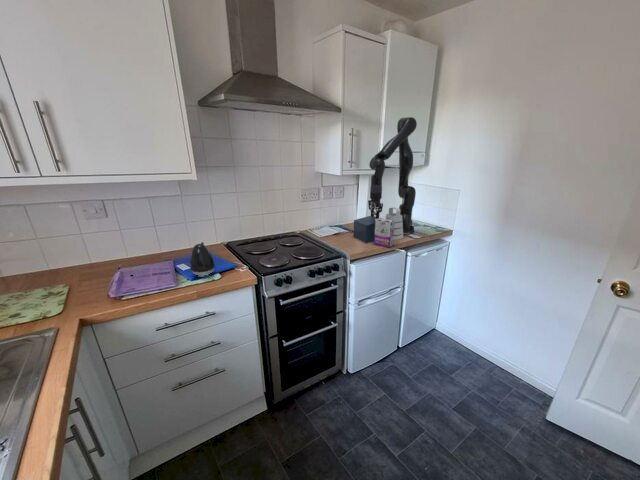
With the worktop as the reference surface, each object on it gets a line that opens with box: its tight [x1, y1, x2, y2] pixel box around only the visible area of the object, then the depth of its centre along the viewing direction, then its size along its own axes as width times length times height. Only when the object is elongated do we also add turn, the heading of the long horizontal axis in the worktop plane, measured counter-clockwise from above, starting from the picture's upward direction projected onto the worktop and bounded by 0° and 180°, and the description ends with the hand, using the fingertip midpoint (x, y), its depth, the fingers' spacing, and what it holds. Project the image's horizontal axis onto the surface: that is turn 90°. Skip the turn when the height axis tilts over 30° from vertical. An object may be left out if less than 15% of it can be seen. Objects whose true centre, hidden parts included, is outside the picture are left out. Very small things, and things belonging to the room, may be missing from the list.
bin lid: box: [353, 211, 378, 227], centre depth 195 cm, size 14×15×5 cm
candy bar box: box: [373, 217, 395, 248], centre depth 185 cm, size 11×5×16 cm, turn 58°
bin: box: [352, 220, 375, 244], centre depth 199 cm, size 14×15×11 cm
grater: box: [385, 206, 404, 241], centre depth 201 cm, size 10×10×20 cm
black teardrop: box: [189, 241, 216, 278], centre depth 137 cm, size 10×10×15 cm
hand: (374, 217), depth 198 cm, fingers closed on bin lid, 5 cm apart
